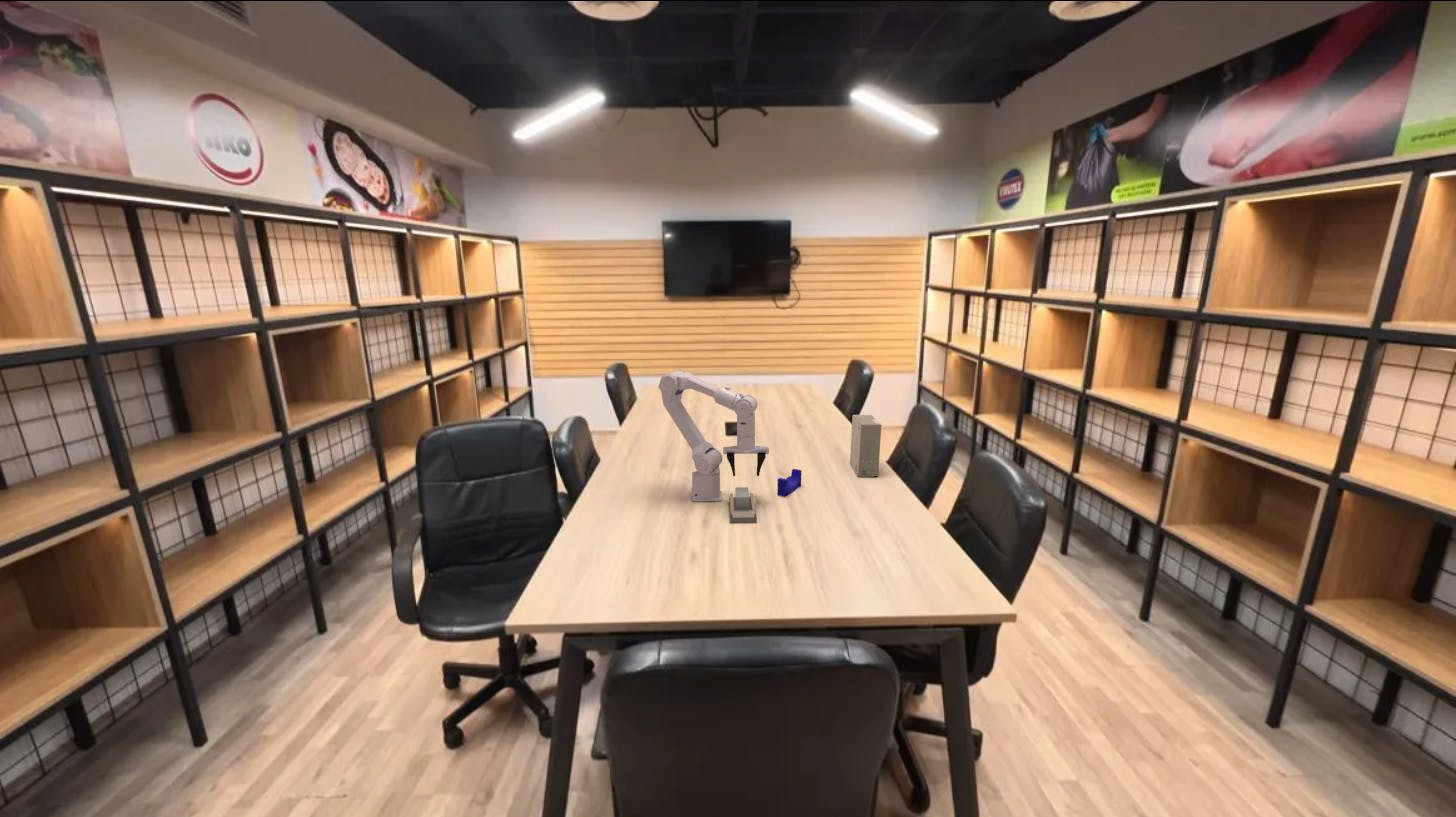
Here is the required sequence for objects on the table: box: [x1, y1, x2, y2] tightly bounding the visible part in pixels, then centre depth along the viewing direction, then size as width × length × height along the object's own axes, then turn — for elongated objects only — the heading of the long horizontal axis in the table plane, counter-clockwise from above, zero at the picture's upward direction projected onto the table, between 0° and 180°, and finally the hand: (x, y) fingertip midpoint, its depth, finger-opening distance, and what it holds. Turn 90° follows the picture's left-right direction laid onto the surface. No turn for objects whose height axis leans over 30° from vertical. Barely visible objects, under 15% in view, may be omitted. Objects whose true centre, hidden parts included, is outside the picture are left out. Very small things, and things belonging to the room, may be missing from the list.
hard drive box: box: [849, 414, 883, 478], centre depth 207 cm, size 16×8×20 cm, turn 179°
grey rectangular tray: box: [728, 492, 758, 524], centre depth 173 cm, size 8×16×4 cm, turn 1°
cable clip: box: [777, 468, 802, 498], centre depth 190 cm, size 12×4×6 cm, turn 147°
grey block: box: [735, 486, 750, 510], centre depth 173 cm, size 4×8×5 cm, turn 1°
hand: (746, 475), depth 179 cm, fingers open, 7 cm apart
